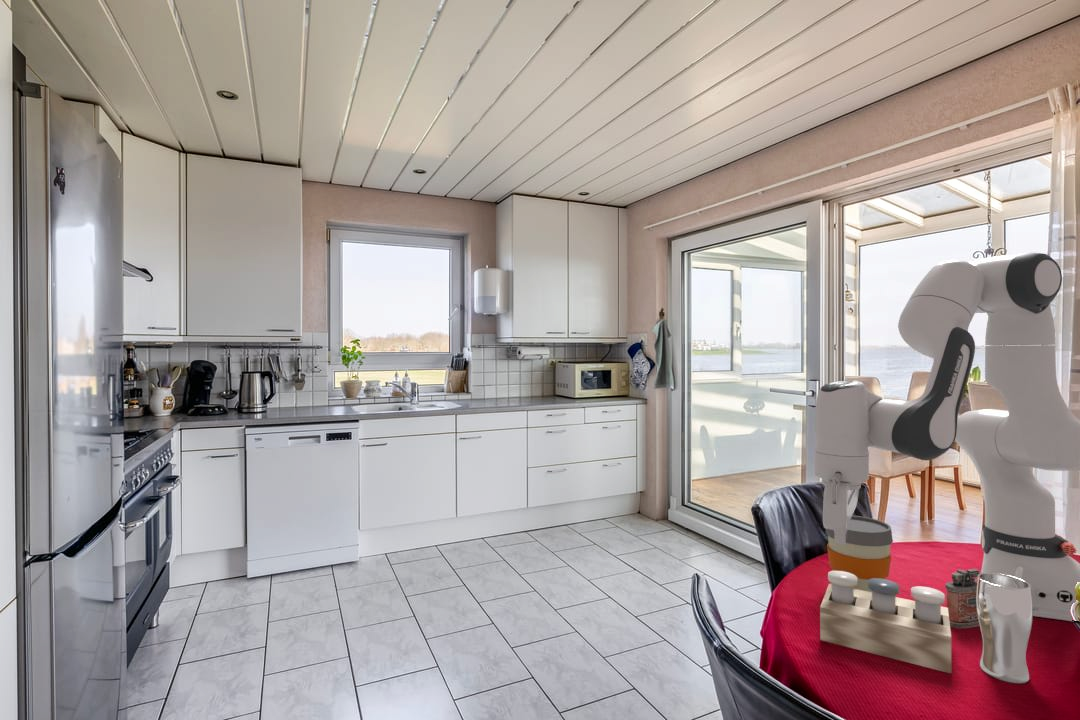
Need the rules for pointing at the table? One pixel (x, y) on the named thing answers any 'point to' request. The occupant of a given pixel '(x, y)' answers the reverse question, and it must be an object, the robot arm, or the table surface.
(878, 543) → the reusable coffee cup
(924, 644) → the wooden peg holder
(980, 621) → the beer glass
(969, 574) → the lighter
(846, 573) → the plunger far
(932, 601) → the plunger near
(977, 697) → the table surface
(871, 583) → the plunger middle
